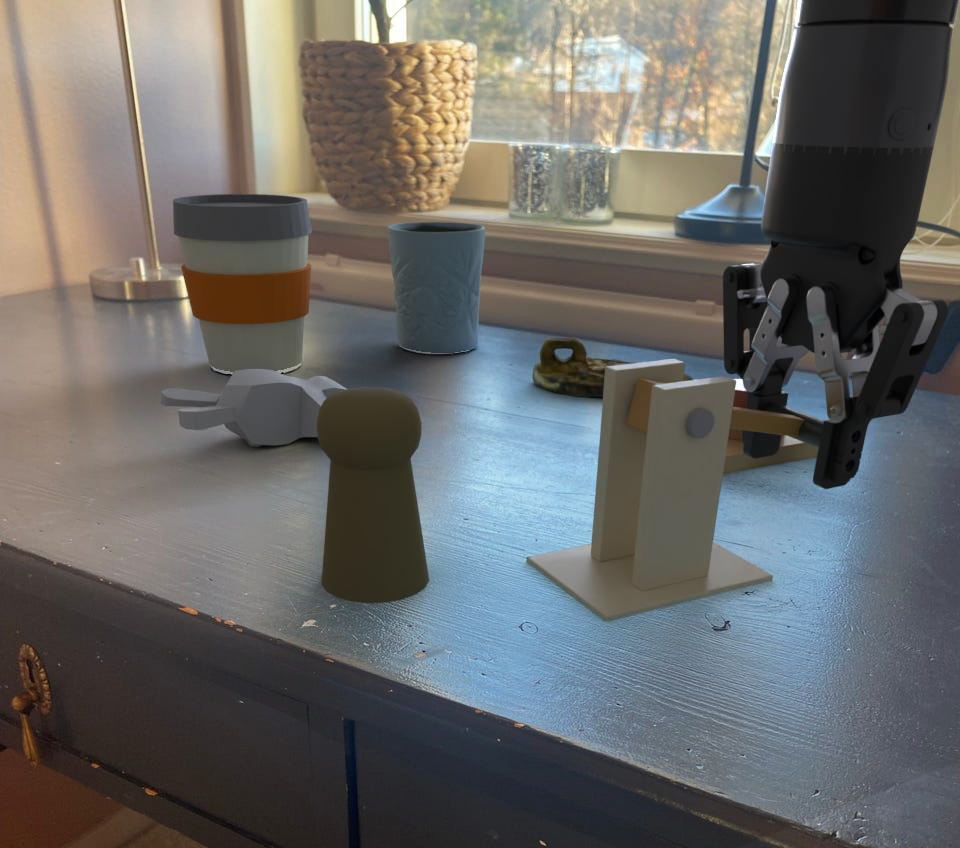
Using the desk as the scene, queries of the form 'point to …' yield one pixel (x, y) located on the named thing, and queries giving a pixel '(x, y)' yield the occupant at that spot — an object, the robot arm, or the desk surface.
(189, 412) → the bunny figurine
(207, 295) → the reusable coffee cup
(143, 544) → the desk surface
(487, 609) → the desk surface
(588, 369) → the seal
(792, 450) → the button block
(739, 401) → the button
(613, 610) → the bracket
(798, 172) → the robot arm
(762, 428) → the lever
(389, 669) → the desk surface
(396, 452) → the cork
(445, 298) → the blue embossed cup
